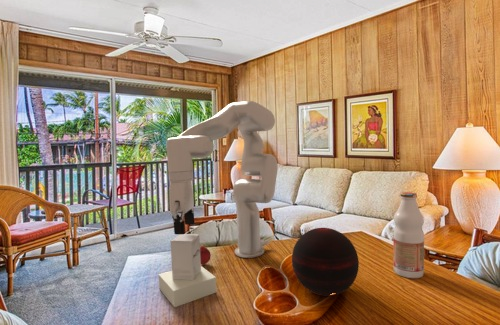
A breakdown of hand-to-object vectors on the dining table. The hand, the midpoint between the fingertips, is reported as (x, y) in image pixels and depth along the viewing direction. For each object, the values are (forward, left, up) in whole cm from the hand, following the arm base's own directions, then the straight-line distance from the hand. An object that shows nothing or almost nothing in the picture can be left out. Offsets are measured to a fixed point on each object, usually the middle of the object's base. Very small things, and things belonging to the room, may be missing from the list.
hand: (185, 228), depth 98 cm
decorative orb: (-34, +28, -21) cm, 48 cm away
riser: (0, 0, -20) cm, 20 cm away
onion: (-13, -15, -21) cm, 28 cm away
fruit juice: (-66, +37, -21) cm, 78 cm away
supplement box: (0, 0, -16) cm, 16 cm away
